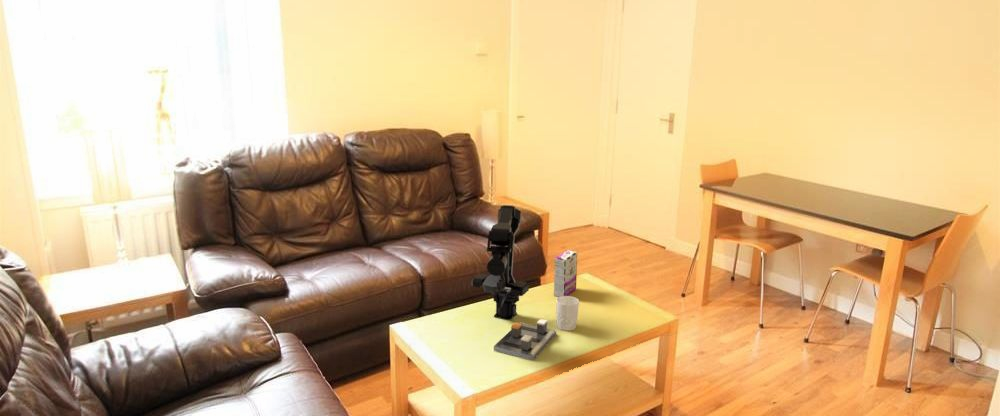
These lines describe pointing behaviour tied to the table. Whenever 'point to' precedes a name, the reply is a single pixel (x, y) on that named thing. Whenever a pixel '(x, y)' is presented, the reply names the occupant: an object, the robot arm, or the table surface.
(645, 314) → the table surface
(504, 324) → the table surface
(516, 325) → the block
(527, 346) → the block
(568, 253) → the candy bar box
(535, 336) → the panel
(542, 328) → the block
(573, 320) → the white cup
